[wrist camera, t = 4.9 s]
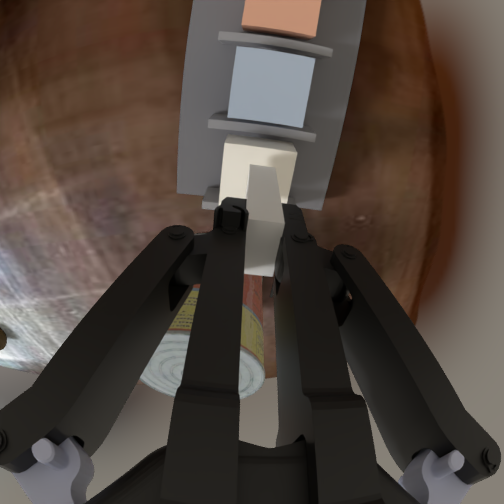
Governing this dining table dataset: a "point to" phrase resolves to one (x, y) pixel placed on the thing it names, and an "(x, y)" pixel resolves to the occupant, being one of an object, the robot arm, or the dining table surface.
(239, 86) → the key slate
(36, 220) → the dining table surface
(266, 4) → the key terracotta
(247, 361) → the canned food
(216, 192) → the keypad
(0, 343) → the kendama
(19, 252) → the dining table surface
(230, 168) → the key ivory
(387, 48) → the dining table surface
